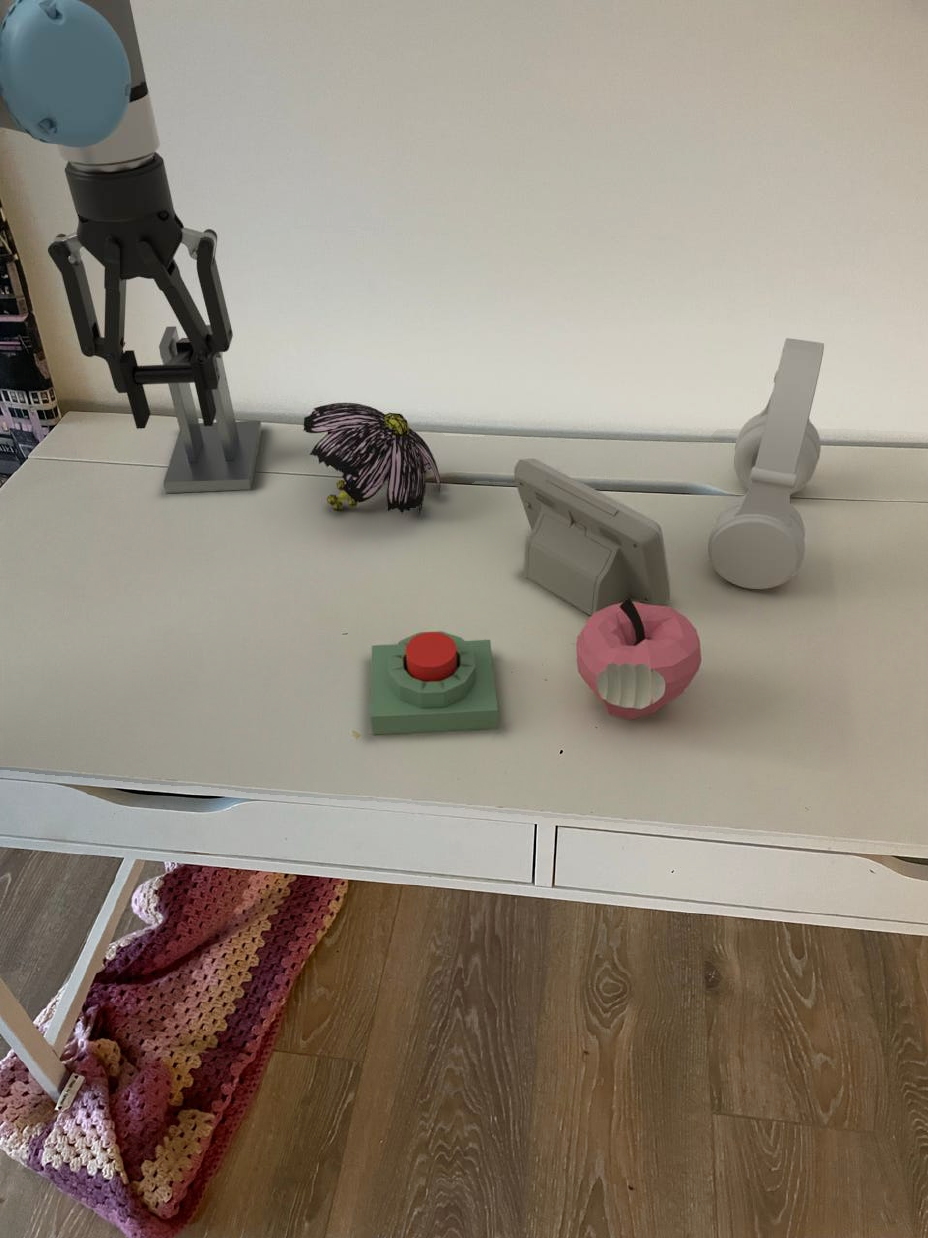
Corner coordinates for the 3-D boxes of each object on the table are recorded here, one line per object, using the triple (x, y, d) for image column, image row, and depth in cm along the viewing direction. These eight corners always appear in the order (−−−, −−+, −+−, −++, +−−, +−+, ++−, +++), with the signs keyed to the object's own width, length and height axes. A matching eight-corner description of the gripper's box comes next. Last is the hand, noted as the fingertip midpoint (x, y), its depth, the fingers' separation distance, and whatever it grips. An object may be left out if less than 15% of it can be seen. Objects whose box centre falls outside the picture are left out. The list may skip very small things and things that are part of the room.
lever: (196, 388, 85) (192, 361, 84) (135, 390, 85) (130, 363, 84) (222, 359, 97) (219, 336, 96) (169, 362, 97) (165, 338, 96)
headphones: (730, 469, 101) (767, 296, 88) (810, 483, 99) (860, 308, 86) (698, 582, 88) (736, 397, 74) (791, 602, 85) (847, 415, 72)
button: (407, 683, 74) (406, 668, 72) (406, 648, 77) (405, 632, 75) (458, 681, 74) (457, 665, 73) (455, 645, 77) (455, 630, 76)
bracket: (250, 489, 100) (224, 361, 90) (165, 493, 100) (130, 365, 90) (262, 430, 109) (239, 307, 99) (184, 433, 108) (153, 310, 98)
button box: (372, 735, 75) (368, 701, 72) (373, 663, 80) (370, 629, 78) (497, 728, 75) (498, 694, 72) (490, 657, 81) (490, 623, 78)
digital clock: (679, 608, 85) (697, 513, 78) (601, 647, 81) (612, 551, 74) (568, 519, 95) (575, 428, 88) (495, 551, 92) (496, 458, 84)
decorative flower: (452, 457, 86) (296, 402, 85) (416, 566, 91) (269, 516, 91) (467, 416, 99) (332, 369, 98) (434, 514, 104) (306, 470, 103)
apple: (559, 727, 75) (567, 637, 68) (584, 654, 81) (593, 565, 74) (680, 756, 73) (700, 666, 66) (696, 679, 79) (716, 588, 72)
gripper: (238, 139, 76) (279, 396, 92) (6, 145, 76) (87, 403, 91) (225, 168, 71) (271, 436, 86) (-25, 175, 70) (67, 444, 86)
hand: (177, 419), depth 89 cm, fingers closed on lever, 5 cm apart
